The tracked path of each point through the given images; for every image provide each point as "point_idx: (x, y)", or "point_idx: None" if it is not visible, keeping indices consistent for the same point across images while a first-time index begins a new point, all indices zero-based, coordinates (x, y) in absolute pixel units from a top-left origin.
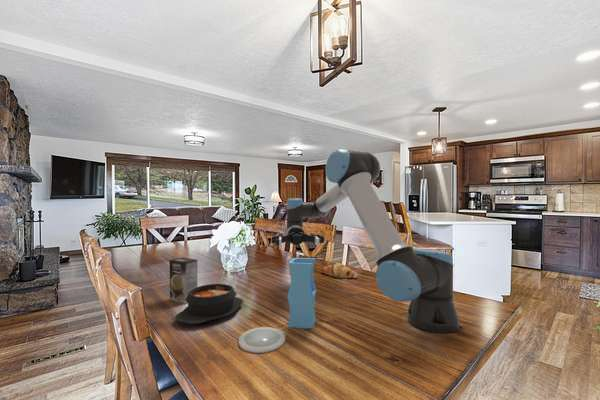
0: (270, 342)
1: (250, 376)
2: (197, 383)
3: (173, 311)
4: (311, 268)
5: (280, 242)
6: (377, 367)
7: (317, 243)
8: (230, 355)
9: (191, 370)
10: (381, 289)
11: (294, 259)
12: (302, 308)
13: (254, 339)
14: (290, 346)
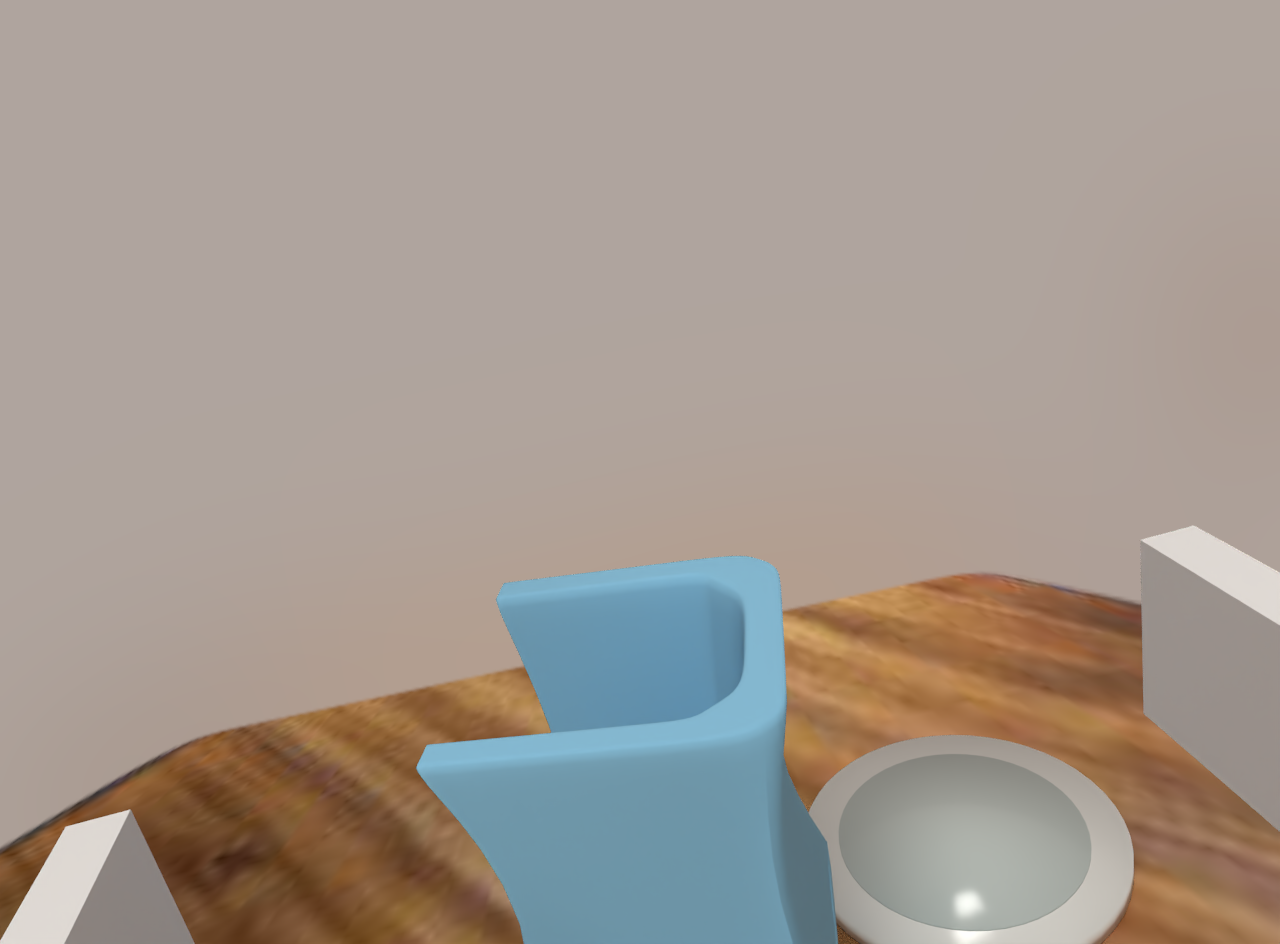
0: (875, 798)
1: (858, 648)
2: (1028, 589)
3: None
4: (520, 653)
5: (1163, 602)
6: (342, 795)
7: (173, 913)
8: (1041, 710)
9: (1121, 616)
10: None
11: (741, 678)
12: None
13: (992, 801)
14: None
